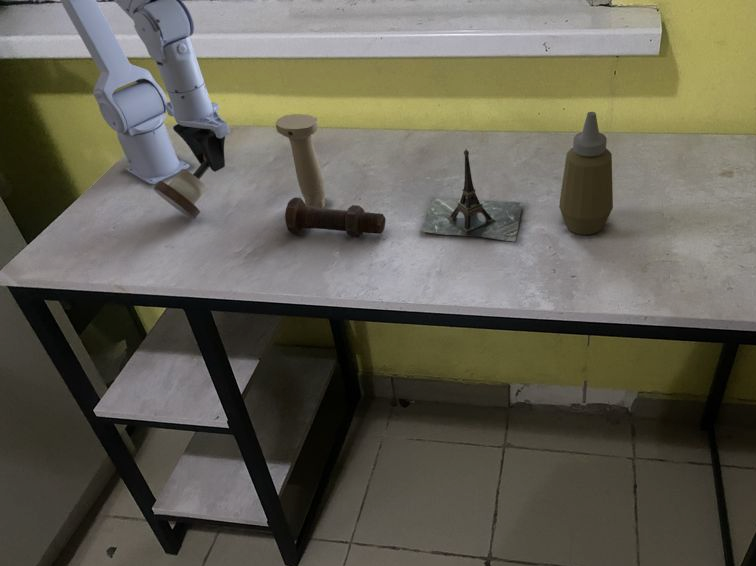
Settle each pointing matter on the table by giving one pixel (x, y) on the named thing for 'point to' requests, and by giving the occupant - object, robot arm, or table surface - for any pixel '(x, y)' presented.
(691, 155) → the table surface
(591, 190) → the squeeze bottle
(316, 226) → the bolt
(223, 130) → the robot arm
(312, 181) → the handle
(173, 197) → the joystick
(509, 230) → the eiffel tower figurine
